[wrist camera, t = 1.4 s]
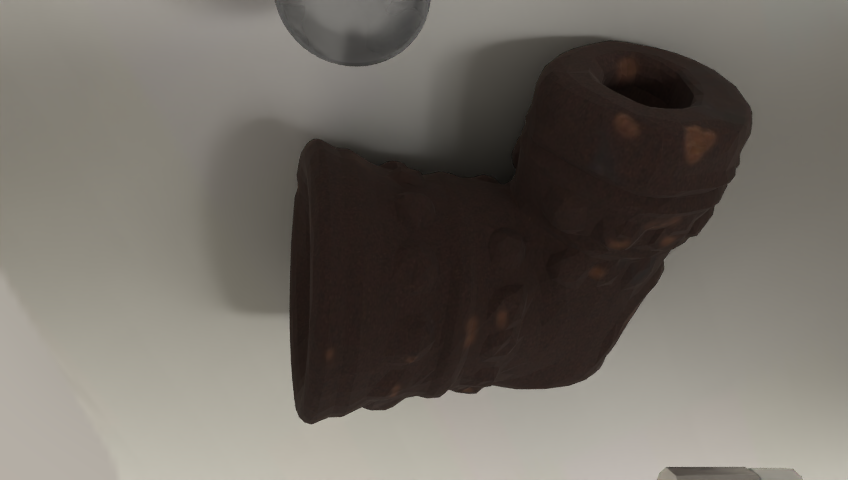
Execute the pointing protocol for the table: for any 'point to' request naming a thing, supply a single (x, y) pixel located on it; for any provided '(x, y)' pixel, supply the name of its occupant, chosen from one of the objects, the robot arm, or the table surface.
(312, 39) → the container
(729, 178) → the pipe
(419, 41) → the table surface
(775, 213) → the table surface
